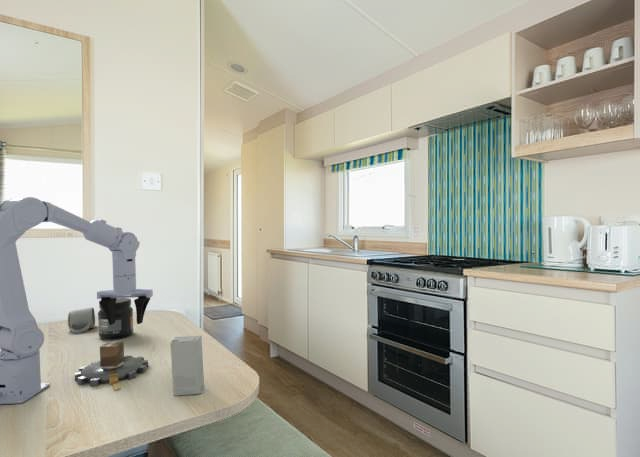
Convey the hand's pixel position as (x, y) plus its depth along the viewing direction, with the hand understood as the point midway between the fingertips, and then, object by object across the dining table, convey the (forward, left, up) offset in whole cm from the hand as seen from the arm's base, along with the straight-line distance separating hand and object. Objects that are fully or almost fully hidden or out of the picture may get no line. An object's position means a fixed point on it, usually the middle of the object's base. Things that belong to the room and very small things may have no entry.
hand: (126, 323), depth 110 cm
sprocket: (-10, -1, -10) cm, 14 cm away
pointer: (-19, -6, -10) cm, 23 cm away
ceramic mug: (+32, +30, -10) cm, 46 cm away
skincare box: (-23, -24, -10) cm, 35 cm away
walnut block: (-10, -1, -8) cm, 13 cm away
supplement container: (+23, +14, -10) cm, 29 cm away
